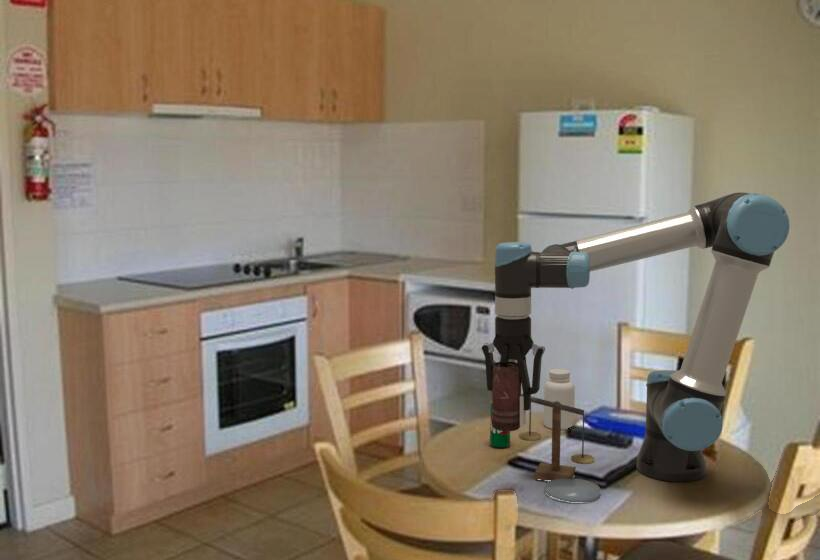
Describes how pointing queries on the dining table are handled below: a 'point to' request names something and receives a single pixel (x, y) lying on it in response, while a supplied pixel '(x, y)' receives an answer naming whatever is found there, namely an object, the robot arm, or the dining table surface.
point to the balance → (556, 444)
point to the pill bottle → (559, 397)
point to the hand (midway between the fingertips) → (513, 423)
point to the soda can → (498, 435)
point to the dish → (573, 490)
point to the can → (506, 397)
